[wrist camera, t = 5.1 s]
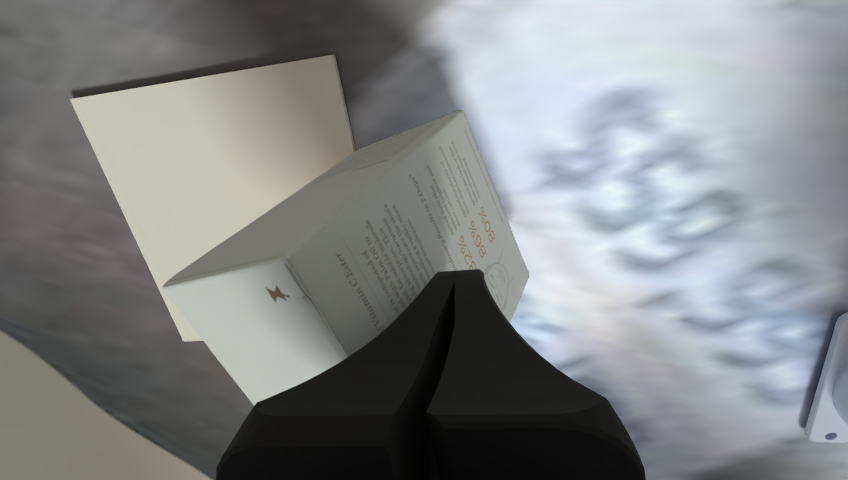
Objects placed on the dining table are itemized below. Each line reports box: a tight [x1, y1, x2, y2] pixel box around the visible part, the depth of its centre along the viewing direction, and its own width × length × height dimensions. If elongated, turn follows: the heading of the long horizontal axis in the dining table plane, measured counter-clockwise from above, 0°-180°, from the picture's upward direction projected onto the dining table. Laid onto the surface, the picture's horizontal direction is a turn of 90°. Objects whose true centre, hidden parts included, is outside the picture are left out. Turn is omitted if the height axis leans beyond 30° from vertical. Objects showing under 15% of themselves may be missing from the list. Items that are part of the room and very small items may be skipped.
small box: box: [162, 110, 529, 406], centre depth 15 cm, size 8×6×10 cm
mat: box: [70, 55, 356, 341], centre depth 22 cm, size 13×14×1 cm
